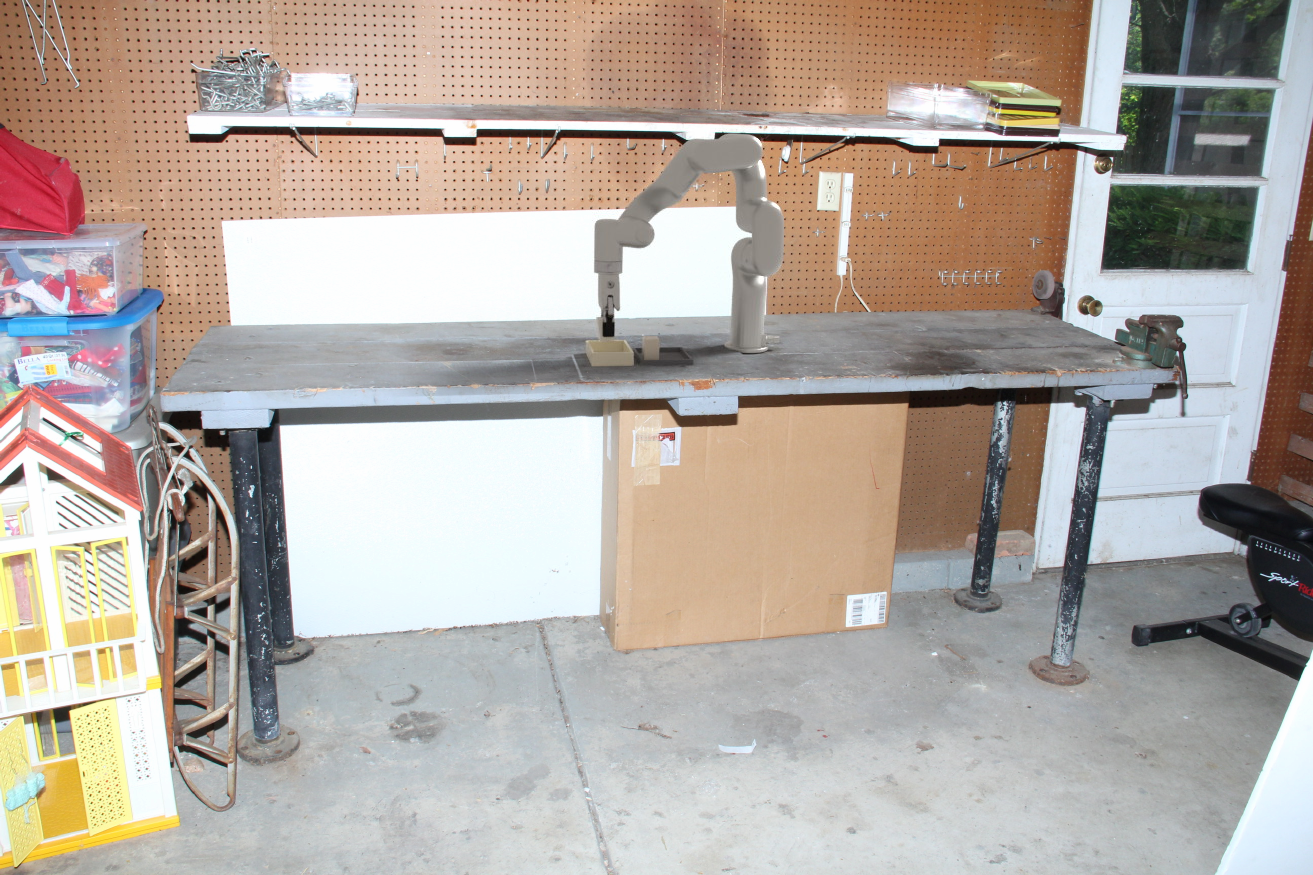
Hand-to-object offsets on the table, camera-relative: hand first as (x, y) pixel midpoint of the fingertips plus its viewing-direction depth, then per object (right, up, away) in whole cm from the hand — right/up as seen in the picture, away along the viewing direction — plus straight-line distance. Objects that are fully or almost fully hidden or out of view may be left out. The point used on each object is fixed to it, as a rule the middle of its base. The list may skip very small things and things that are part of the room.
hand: (607, 334), depth 265 cm
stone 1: (0, -1, 0) cm, 1 cm away
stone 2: (+12, -7, -1) cm, 14 cm away
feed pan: (+15, -7, +1) cm, 16 cm away
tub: (+1, -7, -1) cm, 7 cm away
